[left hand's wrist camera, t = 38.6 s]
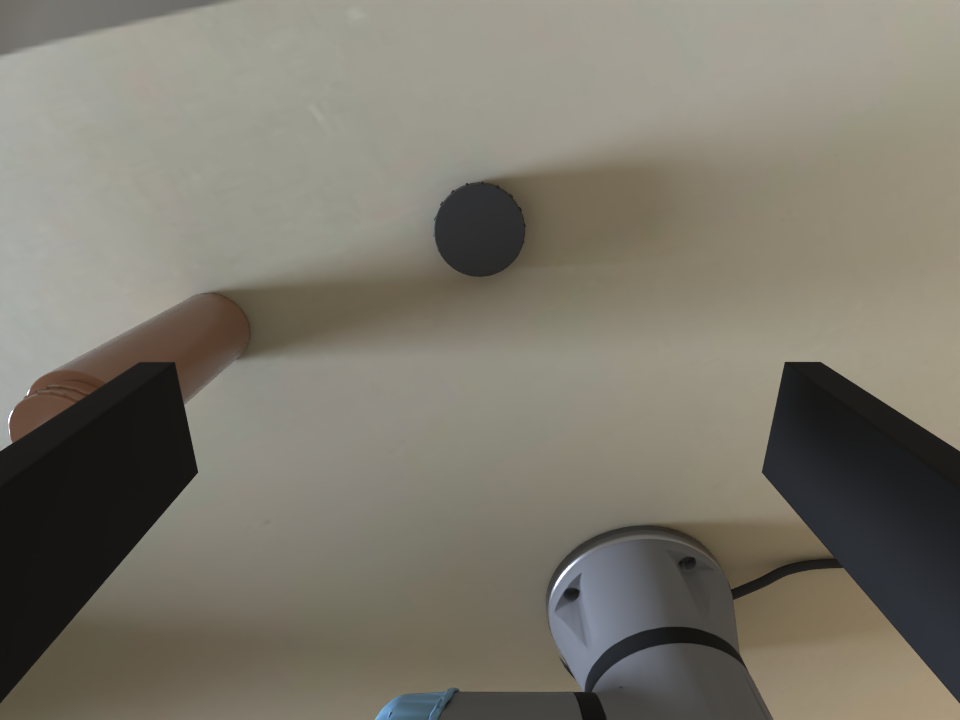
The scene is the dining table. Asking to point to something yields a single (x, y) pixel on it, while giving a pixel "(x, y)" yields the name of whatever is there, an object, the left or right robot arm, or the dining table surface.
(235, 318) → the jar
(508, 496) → the dining table surface
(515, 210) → the lid
